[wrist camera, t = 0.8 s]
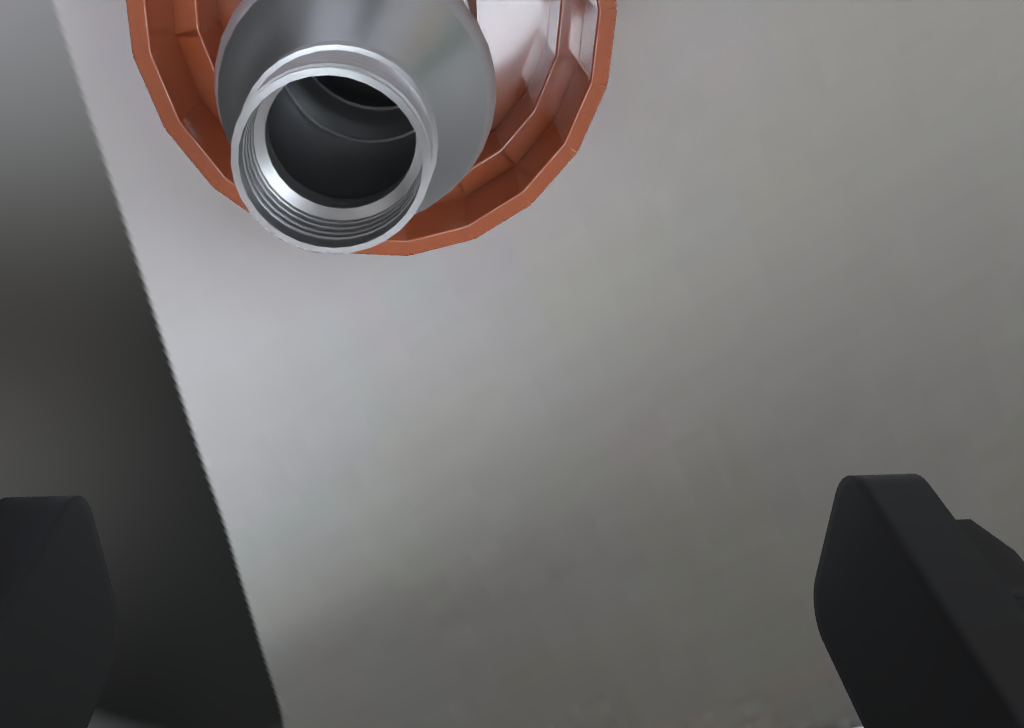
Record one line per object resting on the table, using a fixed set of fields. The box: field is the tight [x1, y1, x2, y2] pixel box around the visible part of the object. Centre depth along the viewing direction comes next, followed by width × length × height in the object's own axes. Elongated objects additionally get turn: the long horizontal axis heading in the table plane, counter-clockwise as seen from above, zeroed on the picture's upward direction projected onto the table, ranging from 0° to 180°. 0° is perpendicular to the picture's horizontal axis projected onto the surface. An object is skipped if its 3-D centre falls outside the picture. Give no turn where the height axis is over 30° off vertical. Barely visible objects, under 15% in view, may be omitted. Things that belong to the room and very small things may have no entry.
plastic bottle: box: [215, 0, 496, 254], centre depth 26 cm, size 6×7×20 cm
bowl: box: [126, 0, 617, 256], centre depth 32 cm, size 15×15×6 cm
